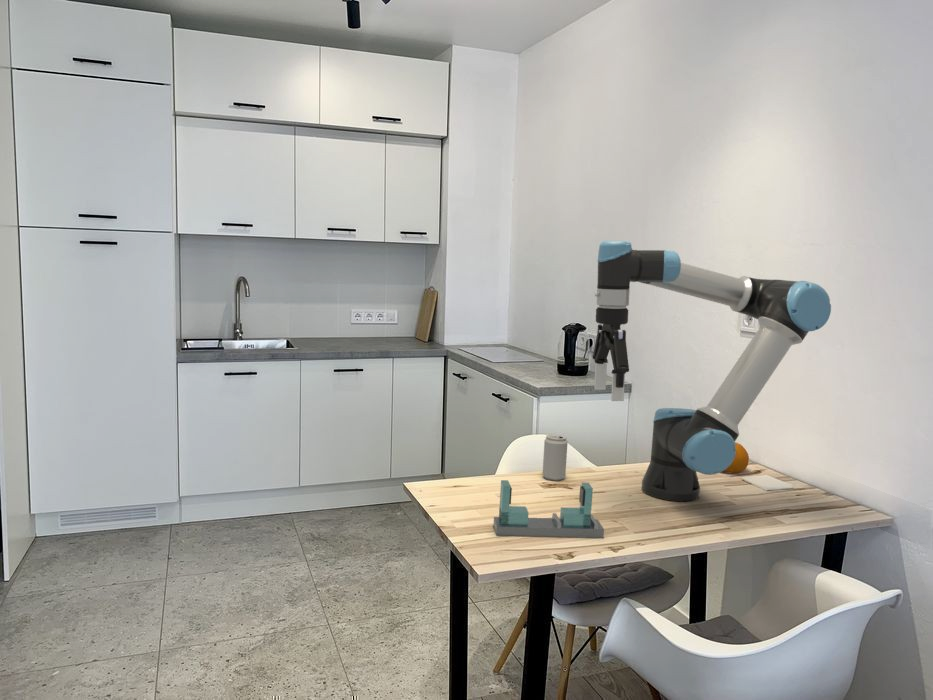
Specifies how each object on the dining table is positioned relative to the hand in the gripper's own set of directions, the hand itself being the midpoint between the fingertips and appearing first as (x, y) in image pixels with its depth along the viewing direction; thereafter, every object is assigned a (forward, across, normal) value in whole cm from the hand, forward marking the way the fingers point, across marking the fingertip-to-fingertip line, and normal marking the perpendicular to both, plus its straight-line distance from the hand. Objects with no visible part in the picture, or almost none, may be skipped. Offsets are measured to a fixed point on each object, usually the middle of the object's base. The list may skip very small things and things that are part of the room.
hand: (608, 395), depth 175 cm
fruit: (+31, -37, +50) cm, 70 cm away
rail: (+28, +13, -17) cm, 36 cm away
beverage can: (+29, -26, -6) cm, 40 cm away
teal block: (+27, +14, -11) cm, 32 cm away
